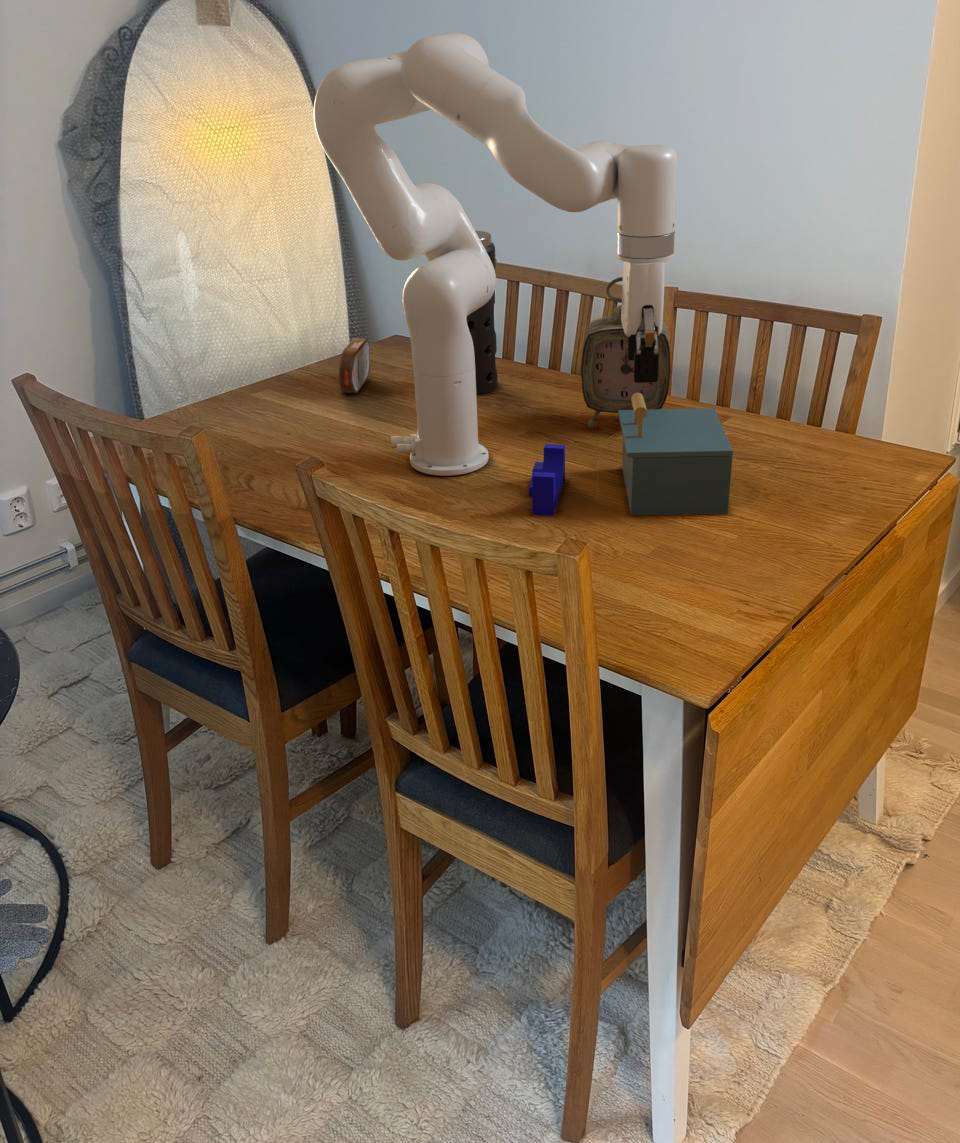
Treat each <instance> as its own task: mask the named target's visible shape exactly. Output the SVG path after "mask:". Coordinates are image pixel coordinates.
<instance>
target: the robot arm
mask: <svg viewBox="0 0 960 1143" xmlns="http://www.w3.org/2000/svg"><path fill="white" fill-rule="evenodd" d="M314 98H315V99H314V104H313V123H314V127H315V132H316V135H317V139H318V141H319V144H320V146H321V147H322V149H323V151H324V153H325V155H326V156H327V158H328V159H329V161H330V163H331V164H332V166H333V168H335V170H336V172H337V174H338V175H339V176H340V178H341V179H342V181H343V183H344V184H345V186H346V188H347V189H348V191H349V193H350V195H351V197H352V199H353V201H354V203H355V204H356V206H357V208H358V210H359V212H360V214H361V215H362V217H363V219H364V221H365V222H366V224H367V226H368V227H369V229H370V231H371V233H372V235H373V237H374V239H375V240H376V242H377V243H378V245H379V246H380V248H381V250H382V251H383V252H384V253H385V254H386V255H387V256H388V257H389V258H391V259H393V260H395V261H408V260H409V261H410V260H412V259H415V258H417V257H420V256H422V255H424V256H425V258H426V260H427V262H425V263H422V264H421V265H420V266H418V267H417V268H416V269H415V270H414V271H412V272H411V274H410V275H409V276H408V278H407V279H406V281H405V283H404V286H403V289H402V308H403V312H404V316H405V320H406V324H407V328H408V333H409V339H410V340H409V341H410V348H411V358H412V369H413V381H414V383H413V384H414V396H415V397H414V398H415V409H416V410H415V412H416V425H417V430H416V433H411V434H410V436H403V435H394V436H390V447H391V449H396V453H399V454H400V453H401V454H404V453H410V454H409V463H410V466H411V467H412V468H413V469H414V470H416V471H418V472H420V473H422V474H426V475H431V476H440V477H441V476H442V477H448V476H449V477H451V476H460V475H466V474H470V473H473V472H475V471H477V470H481V469H482V468H483V467H484V466H486V464H488V462H489V459H490V458H489V455H490V454H489V451H488V449H487V448H486V447H485V446H484V445H482V444H480V443H479V427H478V426H479V425H478V404H477V403H478V401H477V400H478V399H477V395H476V373H475V354H474V346H473V341H472V337H471V334H470V331H469V328H468V325H467V316H468V315H469V314H471V313H472V312H474V311H476V310H477V309H479V308H480V307H482V306H483V305H485V304H486V303H487V302H488V301H489V300H490V298H491V297H492V295H493V293H494V291H495V292H496V286H497V276H496V269H494V267H493V264H492V262H491V260H490V258H489V256H488V254H487V252H486V250H485V248H484V246H483V244H482V243H481V241H480V239H479V237H478V235H477V233H476V232H475V231H476V230H475V228H474V226H473V224H472V222H471V220H470V218H469V217H468V214H467V213H466V212H465V210H464V208H463V206H462V204H461V203H460V202H459V200H458V199H457V198H456V196H455V195H454V194H452V192H450V190H448V189H446V187H444V186H443V185H439V184H436V183H432V182H424V183H418V184H416V185H414V183H413V181H412V180H411V178H410V177H409V175H408V174H407V172H406V170H405V168H404V167H403V164H402V162H401V160H400V159H399V157H398V156H397V154H396V153H395V151H394V150H393V149H392V147H390V145H389V144H388V143H387V142H386V141H384V140H383V139H382V138H381V136H379V134H378V133H377V131H376V128H375V127H376V125H380V124H384V123H385V124H386V123H389V122H393V121H397V120H402V119H405V118H407V117H408V118H409V117H410V116H411V117H412V116H414V115H417V114H421V113H424V112H428V111H433V112H435V113H436V114H438V115H439V116H440V117H442V118H444V119H446V120H447V121H449V122H450V123H452V124H453V125H455V126H457V127H458V128H459V129H461V130H463V131H464V132H466V133H467V134H468V135H469V136H471V137H473V138H474V139H475V140H477V141H479V142H480V143H482V144H483V145H484V146H486V147H487V148H488V149H489V151H490V152H491V154H492V156H493V157H494V158H495V160H496V161H497V162H498V164H499V165H500V166H501V167H502V168H503V170H504V171H505V172H506V173H507V174H508V176H510V177H511V178H512V180H514V181H515V182H516V183H518V184H519V185H520V186H521V187H523V188H524V189H526V190H528V191H529V192H531V193H532V194H534V195H535V196H537V197H538V198H539V199H541V200H543V201H544V202H546V203H547V204H549V205H551V206H553V207H555V208H557V209H558V210H561V211H564V212H568V213H581V212H585V211H588V210H590V209H592V208H593V207H596V206H597V205H599V204H602V203H605V202H607V201H608V202H609V201H610V200H615V199H617V219H616V222H617V223H616V231H617V232H616V259H617V260H620V261H622V262H623V267H622V277H623V281H622V283H621V284H622V285H621V286H622V287H621V298H622V303H621V305H622V310H621V322H622V326H623V329H624V333H625V334H626V336H628V359H629V360H630V361H632V360H634V381H635V382H636V383H646V382H657V380H658V358H659V353H658V344H657V336H658V335H660V333H661V332H662V323H663V321H664V307H665V306H664V305H665V304H664V303H665V276H666V262H667V261H670V260H672V259H674V257H675V237H676V236H675V234H676V232H675V229H676V209H677V208H676V206H677V187H678V186H677V183H678V155H677V152H676V150H675V149H674V148H673V147H671V146H668V145H664V144H640V145H627V144H621V143H617V142H610V141H604V140H603V141H602V140H600V141H593V142H592V141H591V142H589V143H586V144H582V145H580V146H577V147H575V148H573V147H571V146H570V145H568V144H566V143H564V142H563V141H561V140H560V139H558V138H557V137H555V136H554V135H552V134H551V133H550V132H548V131H547V130H546V129H544V128H543V127H542V126H541V125H539V124H538V123H537V122H536V121H535V120H534V118H532V116H531V114H530V113H529V111H528V109H527V105H526V102H527V101H526V100H527V98H526V93H525V91H524V90H523V87H521V86H520V85H519V84H517V83H516V82H514V81H512V80H511V79H509V78H508V77H506V76H505V75H503V74H502V73H499V72H498V71H496V70H495V69H494V68H492V67H490V63H489V59H488V55H487V53H486V51H485V49H484V48H483V46H482V44H480V43H479V41H478V40H477V39H475V38H474V37H472V36H471V35H468V34H465V33H461V32H448V33H441V34H440V33H439V34H433V35H427V36H425V37H422V38H419V39H418V40H416V41H415V42H414V43H413V44H411V46H410V47H409V48H408V50H405V51H401V52H398V53H395V54H391V55H387V56H381V57H375V58H374V57H373V58H365V59H358V60H353V61H349V62H346V63H343V64H341V65H338V66H337V67H335V68H333V69H332V70H330V71H329V72H328V73H327V74H326V76H324V78H323V79H322V81H321V83H320V84H319V86H318V89H317V91H316V94H315V97H314Z"/></svg>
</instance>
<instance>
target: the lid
mask: <svg viewBox="0 0 960 1143" xmlns="http://www.w3.org/2000/svg"><path fill="white" fill-rule="evenodd" d="M631 402H632V406H633V410H619V413H617V414H618V420H619V424H620V429H621V434H622V440H623V439H624V444H625V449H626V454H627V458H646V457H699V456H732V457H733V456H734V449H733V448H732V445H731V442H730V440H729V438H728V436H727V434H726V431H725V429H724V427H723V425H722V422H721V419H720V417H719V415H718V413H717V410H716V409H715V408H716V407H702V408H701V407H700V408H698V407H697V408H661V409H648V410H647V409H646V405H645V402H644V398H643V395H642V394H641V393H634V394H633V395H632V396H631Z"/></svg>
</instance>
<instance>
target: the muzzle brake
mask: <svg viewBox="0 0 960 1143" xmlns="http://www.w3.org/2000/svg"><path fill="white" fill-rule="evenodd" d="M475 232H476V233H477V235H478V237H479V239H480V241H481V243H482V244H483V246H484V248H485V250H486V252H487V254H488V256H489V258H490V260H491V262H492V264H493V267H494V270H496V268H497V267H496V266H497V262H496V246H495V244H494V242H492V234H491V233H490V232H488V231H484V230H475ZM495 304H496V290H495V291H494V293H493V295H492V297H491V298H490V300H489V301H488V302H487V303H486V304H485V305H483V306H482V307H480V308H479V309H477V310H476V311H474V312H472V313H471V314H469V315H468V316H467V325H468V328H469V331H470V334H471V337H472V341H473V346H474V354H475V373H476V396H480V395H487V394H491V393H492V392H494V391H496V390H497V388H498V387H499V383H498V369H497V364H496V353H497V351H498V348H497V347H498V346H497V332H496V330H495V308H494V307H495Z"/></svg>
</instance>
